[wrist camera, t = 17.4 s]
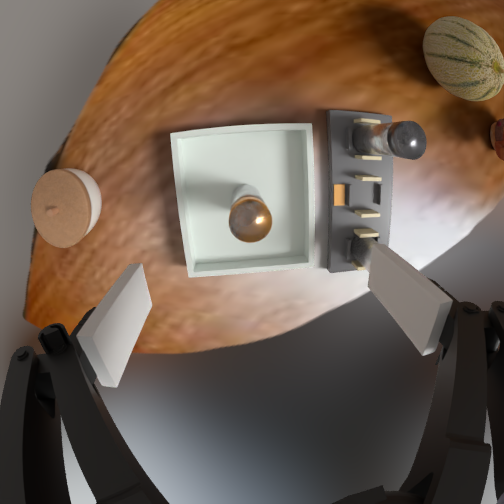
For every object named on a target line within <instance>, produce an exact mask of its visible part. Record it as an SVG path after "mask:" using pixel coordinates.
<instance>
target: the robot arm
mask: <svg viewBox="0 0 504 504" xmlns="http://www.w3.org/2000/svg"><path fill="white" fill-rule="evenodd" d="M368 287H369V289H370V290H371V291H372V292H373V293H374V295H375V296H376V297H377V298H378V299H379V301H380V302H381V303H382V304H383V305H384V307H385V308H386V309H387V311H388V312H389V313H390V314H391V315H392V317H393V318H394V319H395V320H396V322H397V323H398V324H399V326H400V327H401V328H402V329H403V331H404V332H405V333H406V335H407V336H408V337H409V339H410V340H411V341H412V342H413V344H414V345H415V346H416V348H417V349H418V350H419V352H420V353H421V354H422V355H426V354H429V353H432V352H434V351H435V350H436V347H437V345H438V342H439V341H440V343H441V344H442V345H443V348H442V350H441V353H440V355H439V357H438V360H437V362H436V365H437V364H438V362H439V367H438V372H437V378H436V384H435V389H434V393H433V398H432V403H431V407H430V411H429V415H428V419H427V422H426V426H425V429H424V433H423V436H422V439H421V443H420V446H419V449H418V452H417V454H416V457H415V460H414V463H413V466H412V468H411V471H410V473H409V475H408V477H407V478H406V480H405V481H404V483H403V484H402V486H401V487H400V489H399V491H384V488H383V486H379V487H376V488H373V489H370V490H367V491H363V492H360V493H357V494H353V495H350V496H347V497H345V498H343V499H341V500H339V501H337V502H335V503H332V504H481V500H482V496H483V493H484V488H485V484H486V480H487V475H488V470H489V464H490V458H491V446H490V444H486V443H484V432H485V423H486V410H488V415H489V421H490V429H491V437H492V446H493V461H494V481H495V490H496V498H497V504H504V302H502V301H495V302H493V303H492V305H491V308H490V310H489V311H481V309H480V308H479V307H478V306H477V305H475V304H474V303H471V302H458V301H457V300H456V299H455V298H454V297H453V296H452V295H450V294H449V293H448V292H447V291H445V289H443V288H442V287H441V286H440V285H439V284H438V283H436V282H435V281H433V280H431V279H429V278H427V277H425V276H424V275H423V274H422V273H420V272H419V271H418V270H417V269H415V268H414V267H413V266H412V265H410V264H409V263H408V262H407V261H405V260H404V259H403V258H402V257H400V256H399V255H398V254H396V253H395V252H394V251H393V250H391V249H390V248H389V247H387V246H386V245H385V244H374V245H372V255H371V264H370V273H369V281H368ZM151 307H152V302H151V298H150V295H149V291H148V287H147V283H146V279H145V275H144V271H143V266H142V263H137V264H129V266H128V267H127V268H126V269H125V271H124V272H123V273H122V274H121V276H120V277H119V278H118V279H117V281H116V282H115V283H114V285H113V286H112V287H111V289H110V290H109V291H108V292H107V294H106V295H105V296H104V298H103V299H102V300H101V302H100V303H99V304H98V306H97V307H93V308H92V309H91V310H89V311H88V312H87V313H86V314H85V315H84V317H83V318H82V320H81V321H80V322H79V323H78V325H77V326H76V328H75V329H74V330H73V332H72V333H71V335H70V336H69V335H68V333H67V331H66V329H65V327H64V325H63V324H60V323H55V324H51V325H49V326H47V327H45V328H44V329H43V330H41V332H40V333H39V335H38V339H39V341H40V343H41V345H42V347H43V349H44V351H45V352H46V354H39V355H36V353H35V351H34V349H33V348H32V347H30V346H24V347H20V348H19V349H17V350H16V352H15V353H14V354H13V356H12V358H11V361H10V365H9V369H8V372H7V376H6V381H5V385H4V390H3V394H2V399H1V405H0V504H71V501H70V496H69V491H68V485H67V479H66V473H65V466H64V458H63V448H62V436H61V417H62V420H63V423H64V426H65V429H66V432H67V435H68V438H69V441H70V443H71V446H72V449H73V451H74V453H75V456H76V459H77V461H78V463H79V466H80V468H81V470H82V472H83V475H84V477H85V479H86V481H87V483H88V485H89V487H90V489H91V491H92V493H93V495H94V497H95V499H96V502H97V503H96V504H169V503H168V501H167V500H166V499H165V498H164V496H163V495H162V494H161V493H160V492H159V490H158V489H157V488H156V486H155V485H154V484H153V482H152V481H151V480H150V478H149V477H148V475H147V474H146V473H145V471H144V470H143V468H142V467H141V465H140V464H139V463H138V461H137V459H136V458H135V456H134V455H133V454H132V452H131V450H130V449H129V447H128V445H127V444H126V442H125V440H124V439H123V437H122V435H121V434H120V432H119V430H118V428H117V427H116V425H115V423H114V421H113V419H112V417H111V416H110V414H109V412H108V410H107V408H106V406H105V404H104V402H103V400H102V398H101V396H100V394H99V392H98V389H97V387H96V386H95V384H94V381H95V379H96V377H97V378H98V379H99V381H100V383H101V384H102V386H108V387H117V386H118V384H119V381H120V379H121V376H122V374H123V371H124V369H125V366H126V364H127V361H128V359H129V356H130V354H131V352H132V350H133V347H134V345H135V343H136V340H137V338H138V336H139V333H140V331H141V329H142V327H143V324H144V322H145V320H146V318H147V316H148V313H149V311H150V309H151ZM499 343H500V348H499V351H498V348H497V347H498V345H499Z"/></svg>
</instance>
